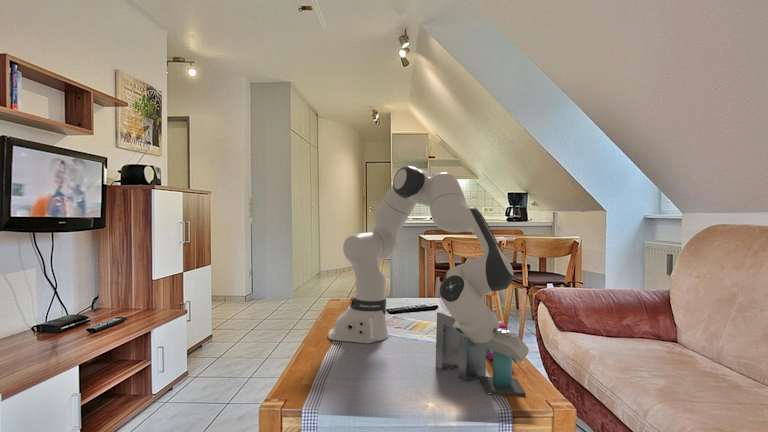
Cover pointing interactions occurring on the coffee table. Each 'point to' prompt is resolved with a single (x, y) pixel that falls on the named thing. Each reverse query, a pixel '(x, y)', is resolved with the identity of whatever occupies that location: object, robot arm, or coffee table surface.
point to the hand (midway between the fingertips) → (504, 355)
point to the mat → (513, 390)
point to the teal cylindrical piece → (502, 370)
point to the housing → (458, 350)
